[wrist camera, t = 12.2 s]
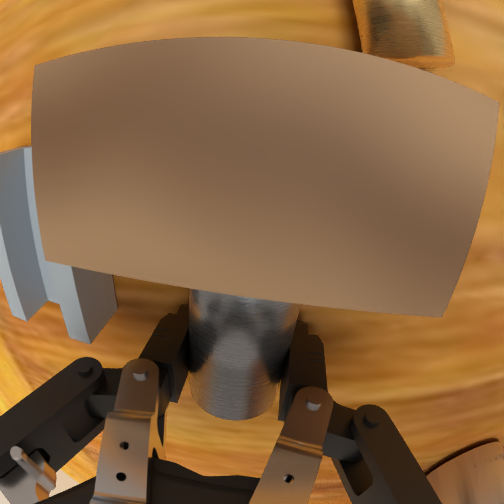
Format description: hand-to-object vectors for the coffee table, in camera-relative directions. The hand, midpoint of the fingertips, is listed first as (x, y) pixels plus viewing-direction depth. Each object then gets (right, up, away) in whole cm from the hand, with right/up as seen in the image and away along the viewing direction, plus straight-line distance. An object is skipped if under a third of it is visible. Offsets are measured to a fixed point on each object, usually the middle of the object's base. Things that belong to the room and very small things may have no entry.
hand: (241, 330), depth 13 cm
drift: (+6, +12, -8) cm, 15 cm away
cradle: (-9, +5, 0) cm, 10 cm away
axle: (0, +3, -1) cm, 3 cm away
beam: (+1, +7, -3) cm, 7 cm away
